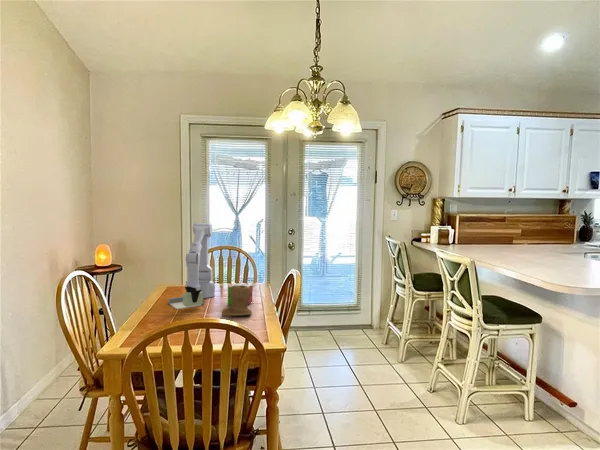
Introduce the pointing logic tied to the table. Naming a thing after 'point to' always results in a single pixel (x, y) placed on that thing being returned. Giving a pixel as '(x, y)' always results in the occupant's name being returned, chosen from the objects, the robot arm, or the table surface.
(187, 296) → the green block
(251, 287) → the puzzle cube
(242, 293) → the brown boot
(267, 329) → the table surface
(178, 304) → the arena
